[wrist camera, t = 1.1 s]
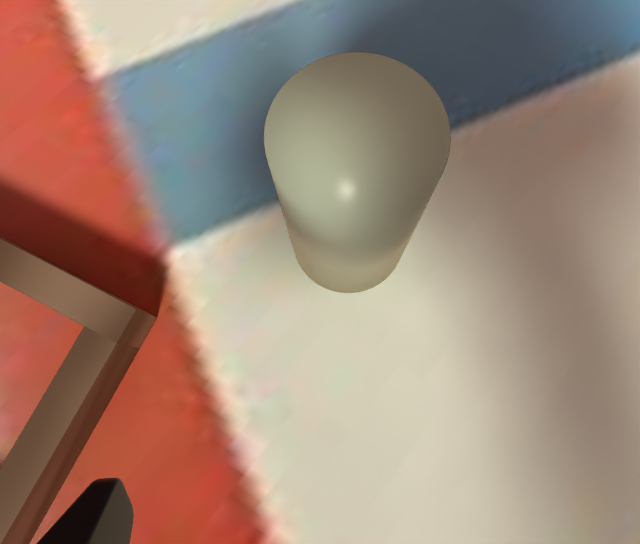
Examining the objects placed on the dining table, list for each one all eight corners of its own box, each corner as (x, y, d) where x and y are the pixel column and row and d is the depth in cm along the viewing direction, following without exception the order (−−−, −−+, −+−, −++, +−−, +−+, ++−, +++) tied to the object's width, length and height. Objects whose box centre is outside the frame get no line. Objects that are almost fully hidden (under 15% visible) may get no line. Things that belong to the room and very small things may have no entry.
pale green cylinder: (421, 214, 24) (480, 94, 14) (374, 311, 23) (402, 255, 13) (323, 170, 25) (315, 25, 15) (273, 263, 24) (230, 174, 14)
